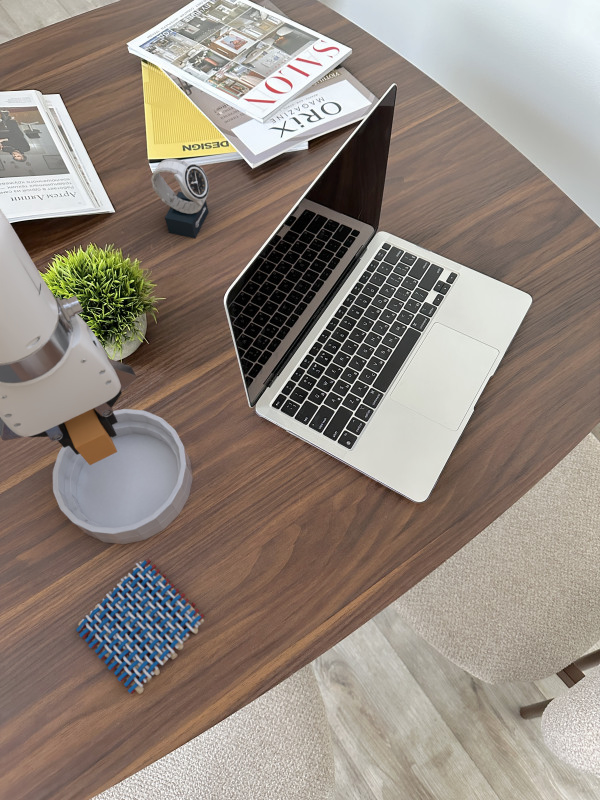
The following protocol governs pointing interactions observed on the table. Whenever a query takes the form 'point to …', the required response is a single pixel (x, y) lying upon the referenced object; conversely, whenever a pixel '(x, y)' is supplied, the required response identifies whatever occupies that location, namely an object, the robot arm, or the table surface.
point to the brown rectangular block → (90, 437)
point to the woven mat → (140, 625)
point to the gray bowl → (126, 481)
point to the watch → (183, 196)
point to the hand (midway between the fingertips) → (91, 433)
